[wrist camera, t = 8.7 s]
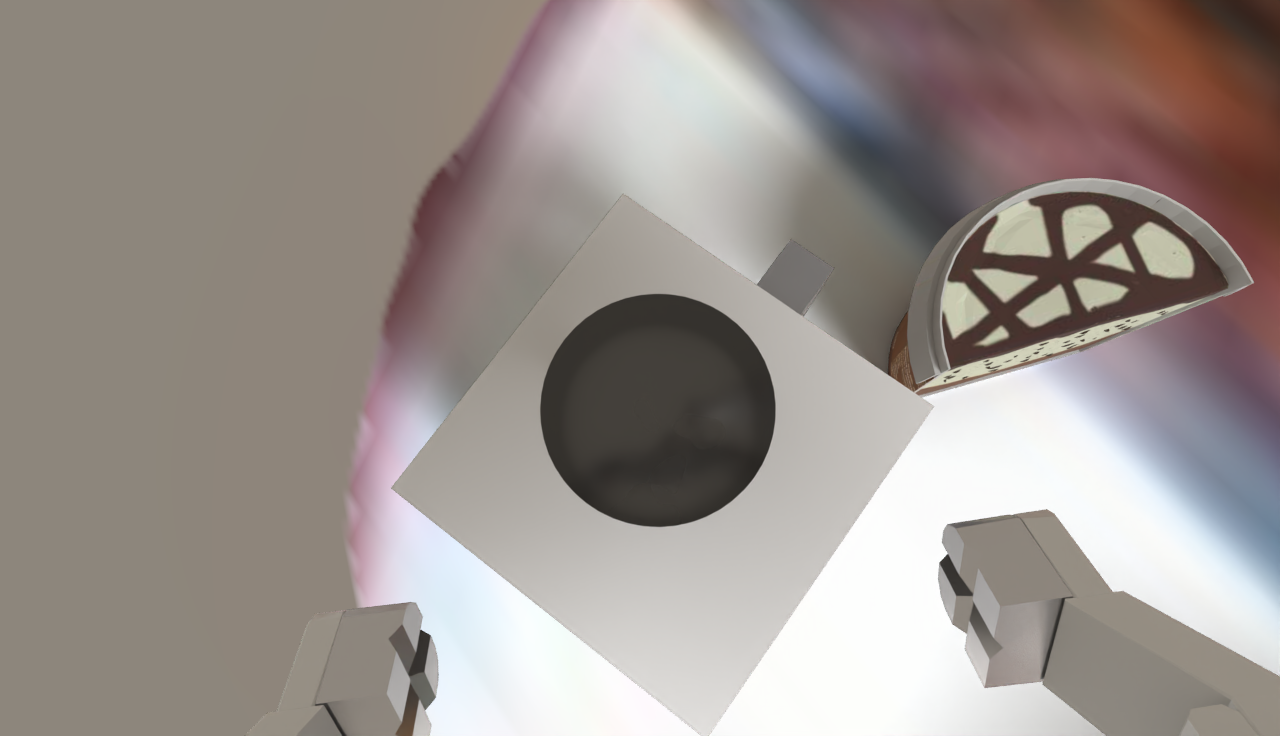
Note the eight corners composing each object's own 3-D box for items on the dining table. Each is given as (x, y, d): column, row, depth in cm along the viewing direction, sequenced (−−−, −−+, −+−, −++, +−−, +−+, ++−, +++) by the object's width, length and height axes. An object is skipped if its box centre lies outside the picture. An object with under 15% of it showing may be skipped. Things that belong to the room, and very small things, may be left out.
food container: (1063, 226, 39) (1196, 124, 29) (1111, 343, 37) (1268, 278, 28) (823, 294, 38) (875, 214, 29) (864, 413, 37) (934, 373, 27)
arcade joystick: (677, 293, 39) (683, 118, 22) (847, 412, 37) (992, 320, 20) (517, 505, 37) (390, 488, 20) (689, 639, 35) (706, 739, 19)
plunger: (655, 413, 34) (633, 250, 14) (730, 468, 33) (822, 382, 13) (599, 488, 33) (493, 431, 13) (675, 545, 33) (683, 577, 13)
